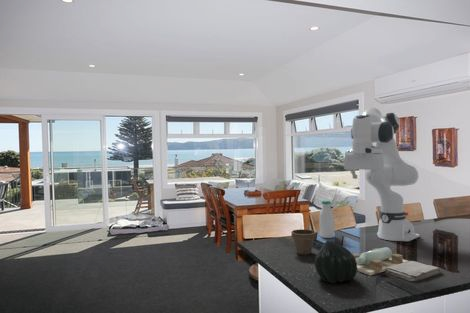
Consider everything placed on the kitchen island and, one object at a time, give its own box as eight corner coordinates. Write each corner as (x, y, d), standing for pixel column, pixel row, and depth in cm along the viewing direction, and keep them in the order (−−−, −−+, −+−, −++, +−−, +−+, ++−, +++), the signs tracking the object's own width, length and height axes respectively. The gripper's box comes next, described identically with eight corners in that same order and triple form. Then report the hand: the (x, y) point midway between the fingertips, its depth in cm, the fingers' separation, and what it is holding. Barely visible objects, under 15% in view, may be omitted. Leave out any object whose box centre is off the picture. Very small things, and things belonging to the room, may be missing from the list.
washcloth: (384, 274, 134) (383, 266, 134) (412, 265, 143) (412, 258, 143) (412, 283, 124) (412, 275, 124) (441, 273, 133) (441, 265, 133)
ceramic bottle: (382, 257, 149) (382, 245, 149) (392, 260, 145) (392, 248, 145) (353, 265, 140) (353, 253, 140) (363, 268, 136) (363, 256, 136)
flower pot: (295, 248, 170) (295, 228, 170) (318, 250, 165) (318, 229, 165) (288, 254, 160) (288, 233, 160) (313, 257, 155) (312, 235, 155)
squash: (366, 273, 119) (352, 234, 129) (324, 277, 118) (313, 237, 128) (354, 288, 130) (342, 251, 140) (316, 292, 129) (306, 254, 139)
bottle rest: (381, 255, 155) (381, 246, 155) (408, 263, 144) (408, 253, 144) (344, 266, 143) (343, 256, 143) (370, 275, 132) (370, 264, 132)
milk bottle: (334, 238, 186) (334, 201, 186) (320, 238, 188) (319, 201, 187) (333, 235, 194) (332, 199, 193) (319, 234, 195) (318, 199, 195)
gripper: (340, 150, 168) (341, 178, 169) (376, 149, 151) (377, 181, 151) (349, 149, 171) (350, 177, 172) (385, 149, 154) (386, 180, 154)
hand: (363, 179), depth 161 cm, fingers open, 8 cm apart
